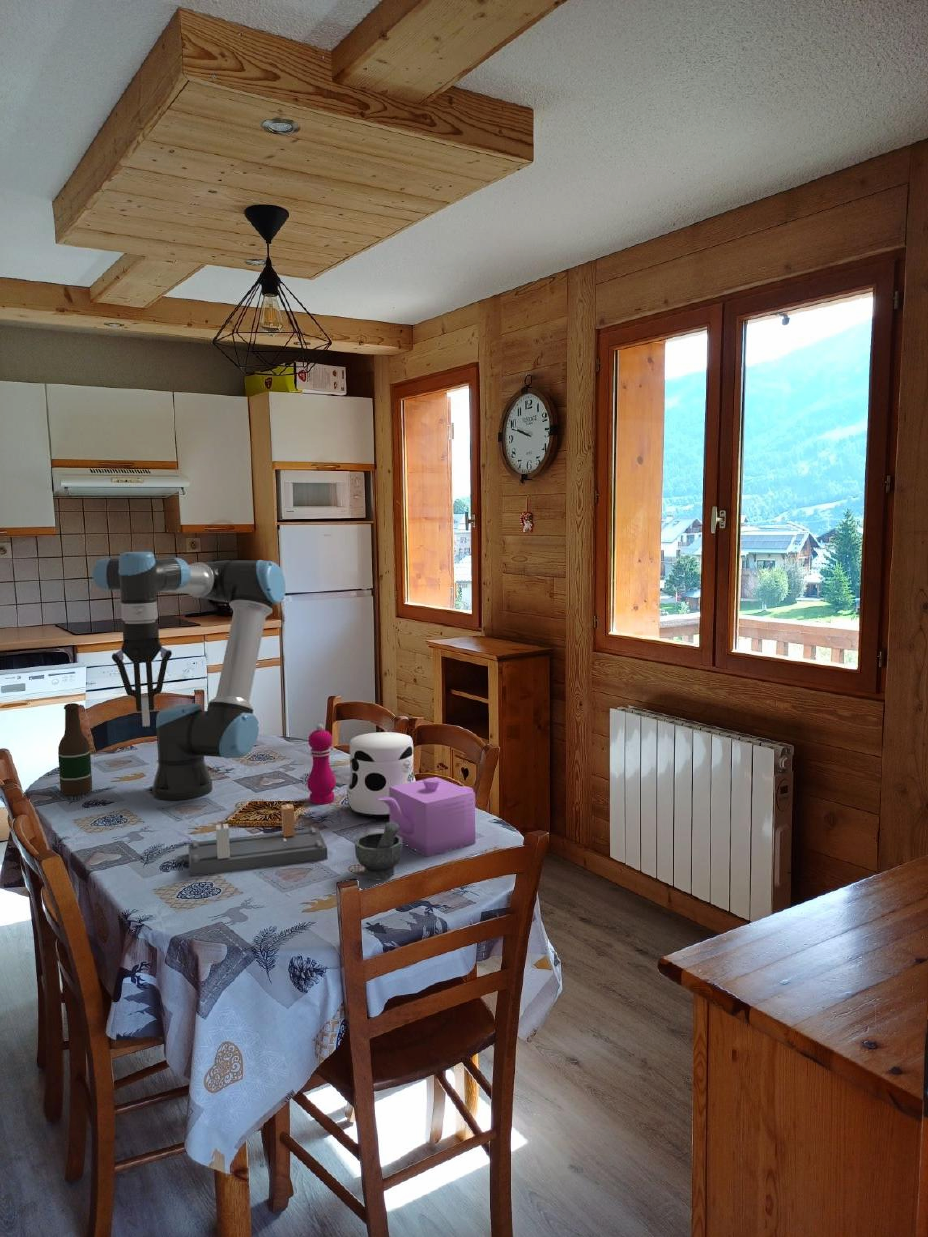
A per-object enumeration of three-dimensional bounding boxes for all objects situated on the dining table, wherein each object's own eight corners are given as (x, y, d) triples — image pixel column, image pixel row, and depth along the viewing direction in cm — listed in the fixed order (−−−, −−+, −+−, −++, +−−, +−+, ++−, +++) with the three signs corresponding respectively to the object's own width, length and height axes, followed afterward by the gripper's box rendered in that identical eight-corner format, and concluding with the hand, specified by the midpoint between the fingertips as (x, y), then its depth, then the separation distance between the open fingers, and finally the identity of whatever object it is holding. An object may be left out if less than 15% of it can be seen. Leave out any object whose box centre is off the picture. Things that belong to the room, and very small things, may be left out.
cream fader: (217, 853, 185) (216, 824, 184) (229, 852, 185) (227, 823, 185) (217, 859, 182) (216, 829, 181) (229, 857, 183) (228, 827, 182)
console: (188, 853, 192) (188, 840, 192) (318, 838, 201) (317, 825, 200) (189, 876, 180) (189, 862, 180) (327, 858, 188) (327, 845, 188)
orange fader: (282, 832, 197) (281, 804, 196) (293, 831, 198) (292, 803, 197) (283, 836, 194) (282, 808, 194) (294, 835, 195) (294, 807, 194)
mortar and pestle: (347, 872, 181) (345, 815, 180) (385, 860, 187) (384, 805, 186) (376, 889, 173) (375, 830, 171) (416, 877, 178) (415, 819, 177)
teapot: (362, 844, 197) (360, 782, 196) (454, 820, 212) (453, 763, 210) (398, 865, 185) (396, 799, 184) (493, 839, 200) (492, 778, 198)
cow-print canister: (432, 809, 220) (431, 738, 218) (379, 827, 207) (378, 752, 205) (385, 795, 232) (384, 727, 230) (333, 811, 219) (331, 740, 217)
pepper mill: (330, 805, 224) (328, 728, 221) (303, 804, 225) (301, 727, 223) (340, 797, 231) (338, 721, 228) (313, 795, 232) (311, 720, 230)
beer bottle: (54, 795, 235) (48, 706, 232) (76, 787, 242) (71, 700, 239) (76, 798, 232) (71, 708, 229) (98, 790, 239) (93, 702, 236)
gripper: (107, 624, 192) (114, 731, 195) (171, 621, 196) (176, 726, 199) (109, 621, 199) (115, 723, 202) (170, 617, 203) (176, 718, 206)
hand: (146, 724), depth 201 cm, fingers closed
